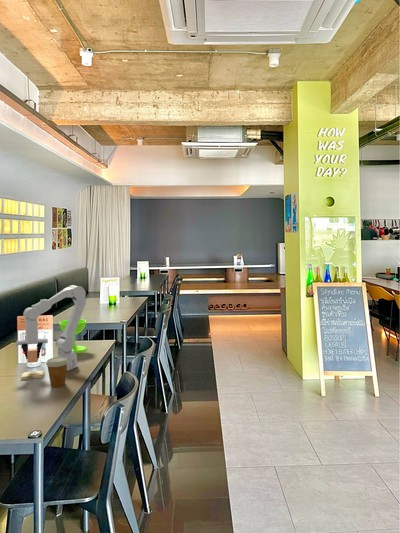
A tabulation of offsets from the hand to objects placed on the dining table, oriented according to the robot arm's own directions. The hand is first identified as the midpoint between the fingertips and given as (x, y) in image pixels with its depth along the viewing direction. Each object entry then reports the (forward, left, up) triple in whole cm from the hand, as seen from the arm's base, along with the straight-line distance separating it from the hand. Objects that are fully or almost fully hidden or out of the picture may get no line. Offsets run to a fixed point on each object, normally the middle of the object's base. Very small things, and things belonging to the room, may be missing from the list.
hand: (32, 358), depth 204 cm
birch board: (-2, +2, -8) cm, 9 cm away
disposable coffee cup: (-23, +7, -9) cm, 25 cm away
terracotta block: (0, 0, -2) cm, 2 cm away
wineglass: (+11, -44, -9) cm, 46 cm away
